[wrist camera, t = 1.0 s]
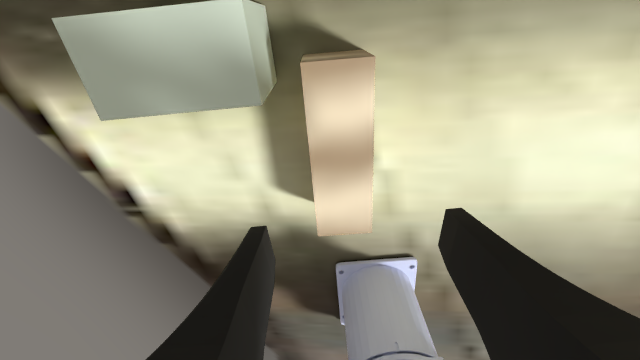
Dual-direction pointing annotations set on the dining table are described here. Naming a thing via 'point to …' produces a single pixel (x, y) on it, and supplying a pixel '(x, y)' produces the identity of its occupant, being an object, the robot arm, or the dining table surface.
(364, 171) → the peg
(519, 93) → the dining table surface
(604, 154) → the dining table surface
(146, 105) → the block
